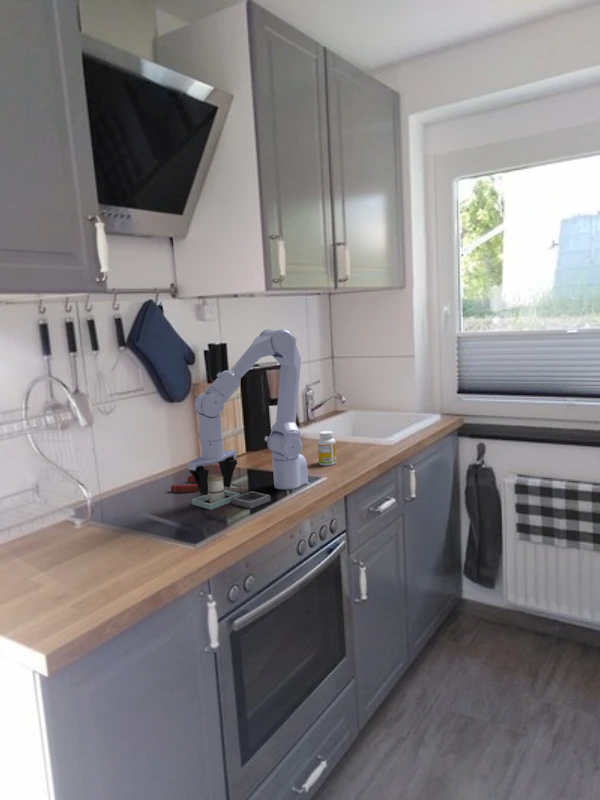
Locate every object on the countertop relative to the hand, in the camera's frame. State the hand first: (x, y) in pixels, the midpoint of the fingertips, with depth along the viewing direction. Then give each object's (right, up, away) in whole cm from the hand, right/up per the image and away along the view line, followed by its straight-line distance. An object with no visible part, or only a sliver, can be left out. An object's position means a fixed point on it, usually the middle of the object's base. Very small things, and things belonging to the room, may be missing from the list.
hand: (215, 490), depth 151 cm
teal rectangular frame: (0, -4, +1) cm, 4 cm away
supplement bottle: (+31, +3, +34) cm, 46 cm away
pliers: (-5, -3, +15) cm, 16 cm away
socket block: (+10, -3, -2) cm, 10 cm away
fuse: (0, -3, 0) cm, 3 cm away
